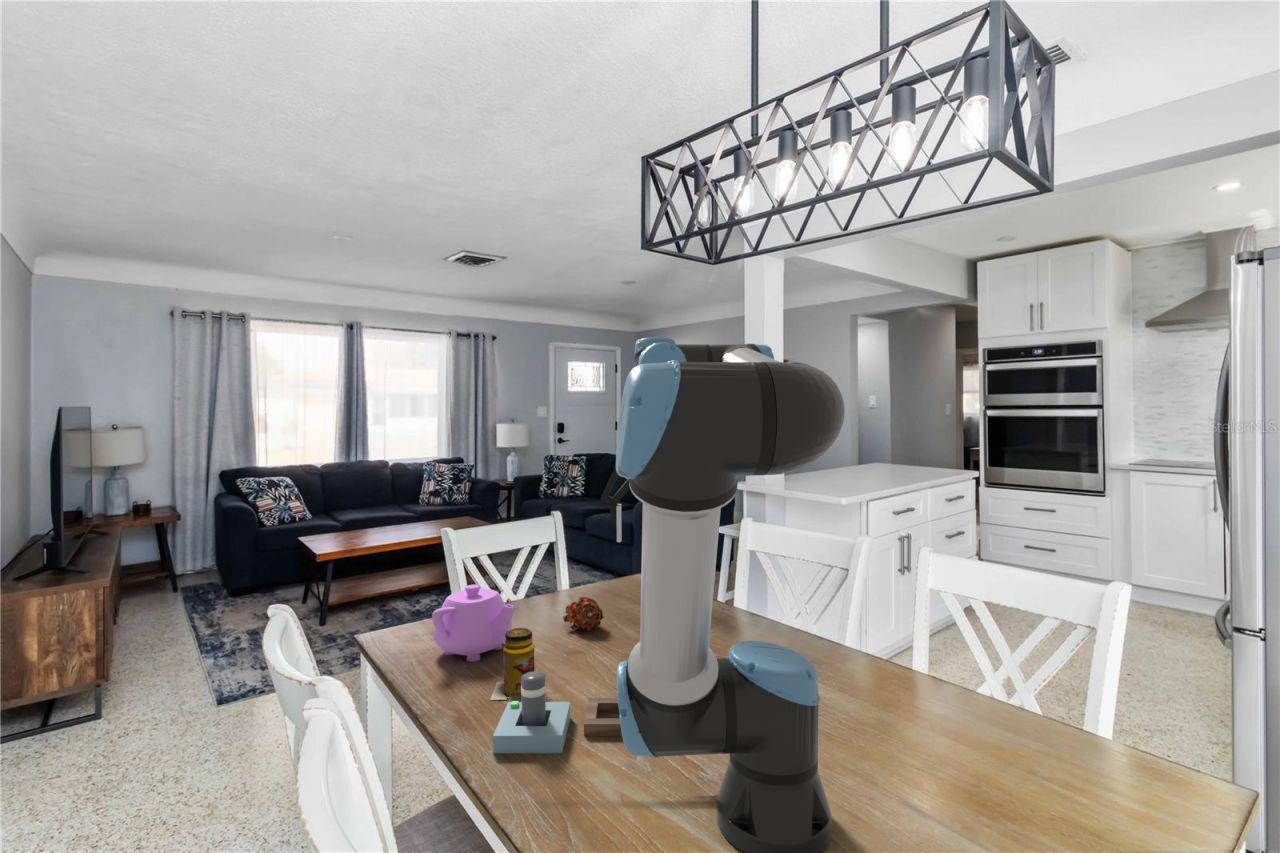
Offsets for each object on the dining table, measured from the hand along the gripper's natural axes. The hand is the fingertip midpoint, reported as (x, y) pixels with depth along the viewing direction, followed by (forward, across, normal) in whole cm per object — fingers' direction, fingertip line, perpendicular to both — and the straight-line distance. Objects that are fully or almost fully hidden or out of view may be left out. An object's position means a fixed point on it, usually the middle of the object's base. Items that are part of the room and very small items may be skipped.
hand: (656, 540), depth 111 cm
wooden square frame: (+32, +8, +6) cm, 33 cm away
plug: (+31, +21, +10) cm, 38 cm away
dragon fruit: (+32, +18, -42) cm, 56 cm away
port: (+32, +21, +10) cm, 39 cm away
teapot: (+32, +41, -26) cm, 58 cm away
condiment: (+32, +28, -8) cm, 43 cm away
